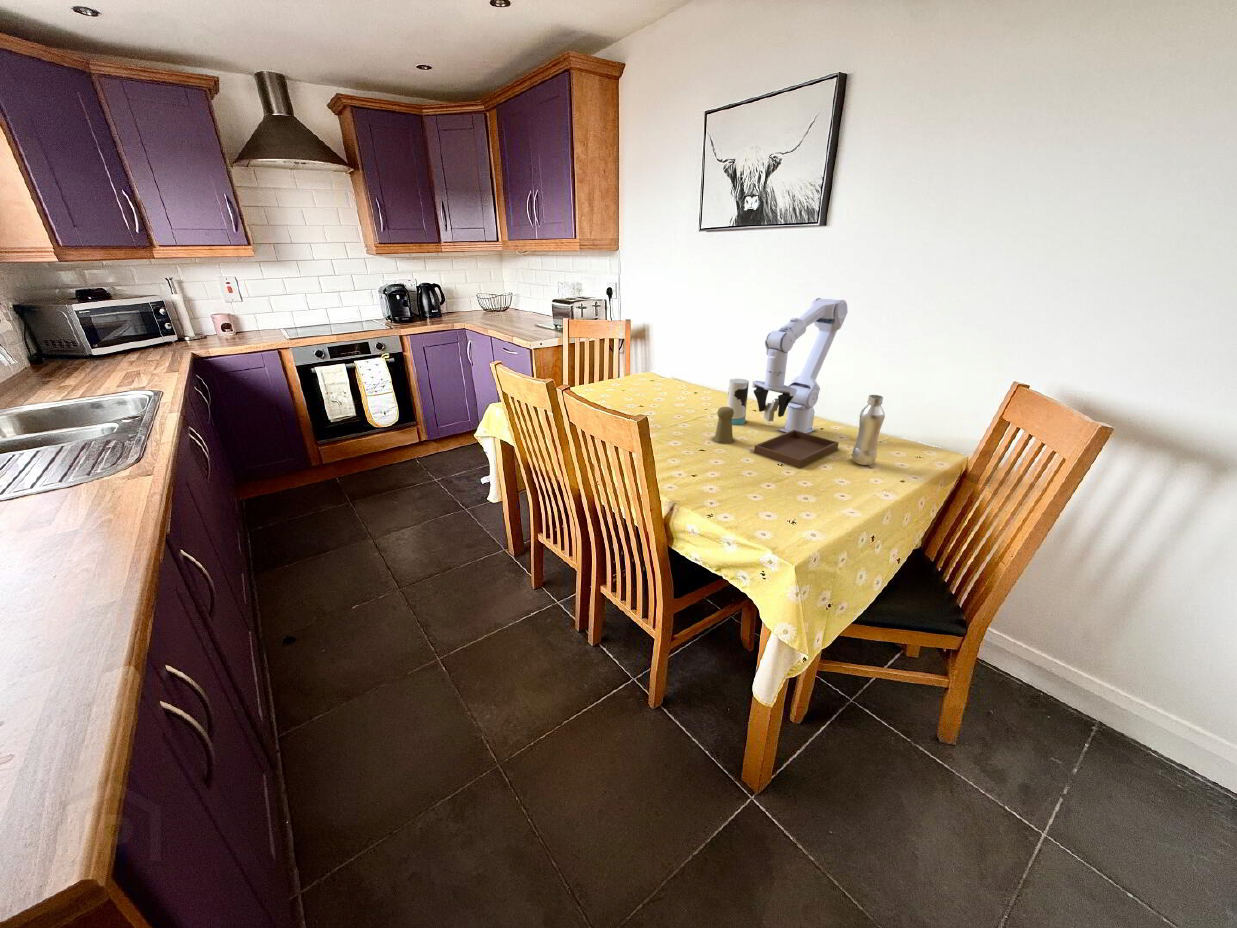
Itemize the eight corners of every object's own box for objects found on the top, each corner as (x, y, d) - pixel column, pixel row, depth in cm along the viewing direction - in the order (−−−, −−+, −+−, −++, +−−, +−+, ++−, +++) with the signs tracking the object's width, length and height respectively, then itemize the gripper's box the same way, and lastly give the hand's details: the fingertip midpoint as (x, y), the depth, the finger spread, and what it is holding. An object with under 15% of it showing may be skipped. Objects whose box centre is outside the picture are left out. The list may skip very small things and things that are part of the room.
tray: (792, 436, 166) (793, 429, 165) (837, 449, 155) (838, 442, 154) (753, 452, 154) (754, 445, 153) (799, 468, 143) (800, 460, 142)
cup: (748, 423, 178) (752, 382, 172) (730, 425, 177) (734, 384, 171) (740, 418, 184) (743, 378, 178) (723, 419, 183) (726, 379, 177)
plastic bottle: (873, 460, 147) (887, 394, 139) (876, 469, 141) (890, 400, 133) (849, 457, 149) (861, 392, 141) (851, 466, 143) (864, 398, 135)
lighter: (763, 417, 163) (766, 393, 160) (768, 417, 163) (771, 393, 160) (771, 424, 156) (774, 399, 153) (777, 424, 157) (780, 399, 153)
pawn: (731, 437, 166) (734, 405, 162) (733, 443, 161) (736, 410, 156) (713, 436, 167) (715, 404, 163) (714, 443, 161) (717, 410, 157)
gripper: (748, 369, 156) (744, 411, 162) (789, 377, 146) (784, 421, 151) (761, 366, 160) (757, 406, 166) (802, 373, 150) (796, 416, 156)
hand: (771, 413), depth 159 cm, fingers closed on lighter, 6 cm apart
